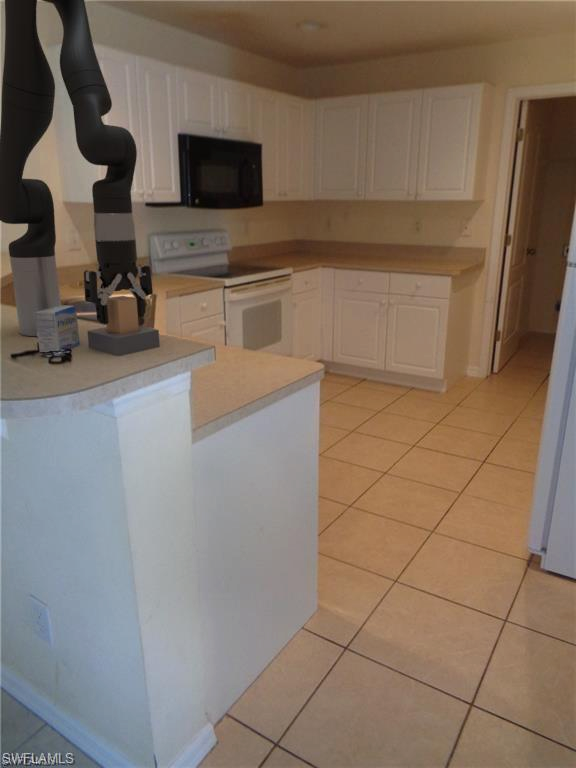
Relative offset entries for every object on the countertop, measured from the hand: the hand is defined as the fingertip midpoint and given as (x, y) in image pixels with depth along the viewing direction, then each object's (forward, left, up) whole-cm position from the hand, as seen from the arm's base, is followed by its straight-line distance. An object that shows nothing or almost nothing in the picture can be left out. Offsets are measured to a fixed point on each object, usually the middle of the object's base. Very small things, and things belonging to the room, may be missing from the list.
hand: (122, 320), depth 114 cm
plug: (0, 0, -6) cm, 6 cm away
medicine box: (-9, -9, -6) cm, 14 cm away
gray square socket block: (0, 0, -6) cm, 6 cm away
